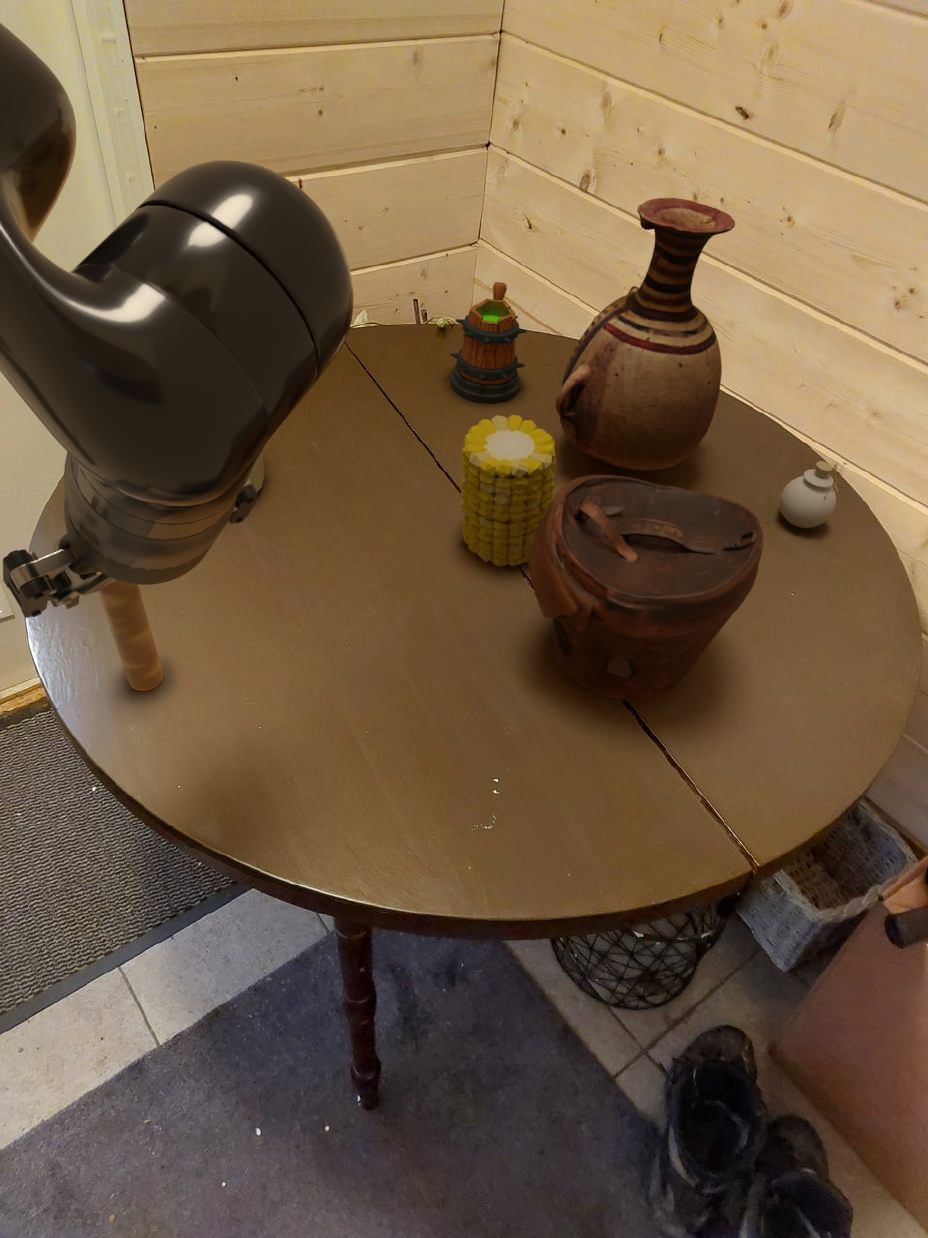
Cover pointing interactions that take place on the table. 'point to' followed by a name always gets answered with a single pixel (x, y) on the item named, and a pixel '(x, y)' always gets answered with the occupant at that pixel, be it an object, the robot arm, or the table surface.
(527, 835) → the table surface
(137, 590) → the stick
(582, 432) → the vase
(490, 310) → the mug
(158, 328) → the robot arm
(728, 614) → the case
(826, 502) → the ornament
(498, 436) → the food
